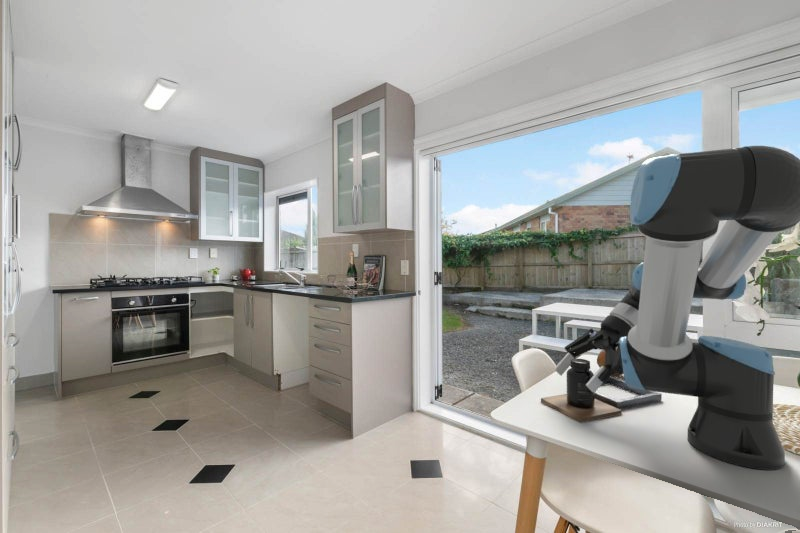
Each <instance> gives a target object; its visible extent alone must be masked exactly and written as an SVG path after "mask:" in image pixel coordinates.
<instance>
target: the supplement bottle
mask: <svg viewBox="0 0 800 533" xmlns="http://www.w3.org/2000/svg"><path fill="white" fill-rule="evenodd" d="M594 374H595V373H594V372H592V370H591V361H590V360H588V359H584V358H575V359H571V364H570V366H569V368H568V369H567V370H566V394H567V402H568V404H570V405H571V406H574V407H577V408H583V409H588V408H592V407H593V406H594V401H595V396H594V393H593V392H592V391H591V390H590V389H589V388H588V387H587V386H586V384H587V383H588V381H589V380H590V379H591V378H592V377H593V376H594Z"/></svg>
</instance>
